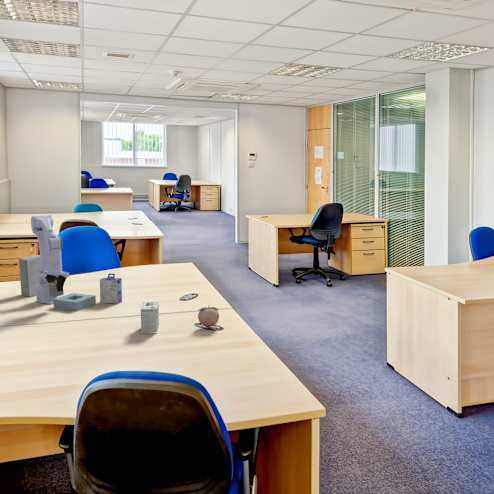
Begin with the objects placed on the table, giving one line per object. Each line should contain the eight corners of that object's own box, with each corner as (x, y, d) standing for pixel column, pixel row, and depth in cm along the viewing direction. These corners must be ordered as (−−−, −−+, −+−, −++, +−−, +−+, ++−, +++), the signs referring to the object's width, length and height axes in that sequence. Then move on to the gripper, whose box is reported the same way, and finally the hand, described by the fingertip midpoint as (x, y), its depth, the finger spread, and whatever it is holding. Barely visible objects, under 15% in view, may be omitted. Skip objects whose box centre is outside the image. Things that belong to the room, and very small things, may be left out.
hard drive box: (46, 289, 288) (44, 254, 284) (54, 291, 283) (53, 255, 280) (20, 295, 275) (18, 258, 272) (28, 297, 271) (26, 259, 268)
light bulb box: (143, 326, 225) (143, 301, 223) (159, 325, 226) (158, 301, 224) (140, 334, 214) (140, 308, 213) (157, 333, 215) (156, 308, 213)
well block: (53, 307, 252) (53, 299, 251) (73, 300, 264) (73, 292, 264) (77, 311, 246) (76, 302, 246) (95, 303, 259) (95, 295, 259)
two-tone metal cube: (49, 296, 246) (48, 282, 245) (57, 293, 250) (56, 280, 249) (56, 297, 244) (55, 283, 243) (63, 294, 249) (62, 281, 248)
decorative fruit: (201, 332, 217) (201, 309, 216) (195, 326, 225) (195, 304, 223) (222, 329, 221) (222, 306, 220) (216, 323, 229) (216, 302, 227)
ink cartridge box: (122, 301, 265) (122, 273, 262) (118, 304, 259) (117, 275, 257) (104, 300, 267) (103, 272, 264) (99, 302, 261) (98, 274, 259)
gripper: (37, 262, 244) (38, 290, 246) (61, 265, 239) (62, 294, 241) (48, 260, 250) (49, 287, 253) (71, 262, 245) (73, 290, 247)
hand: (56, 290), depth 247 cm, fingers closed on two-tone metal cube, 4 cm apart
